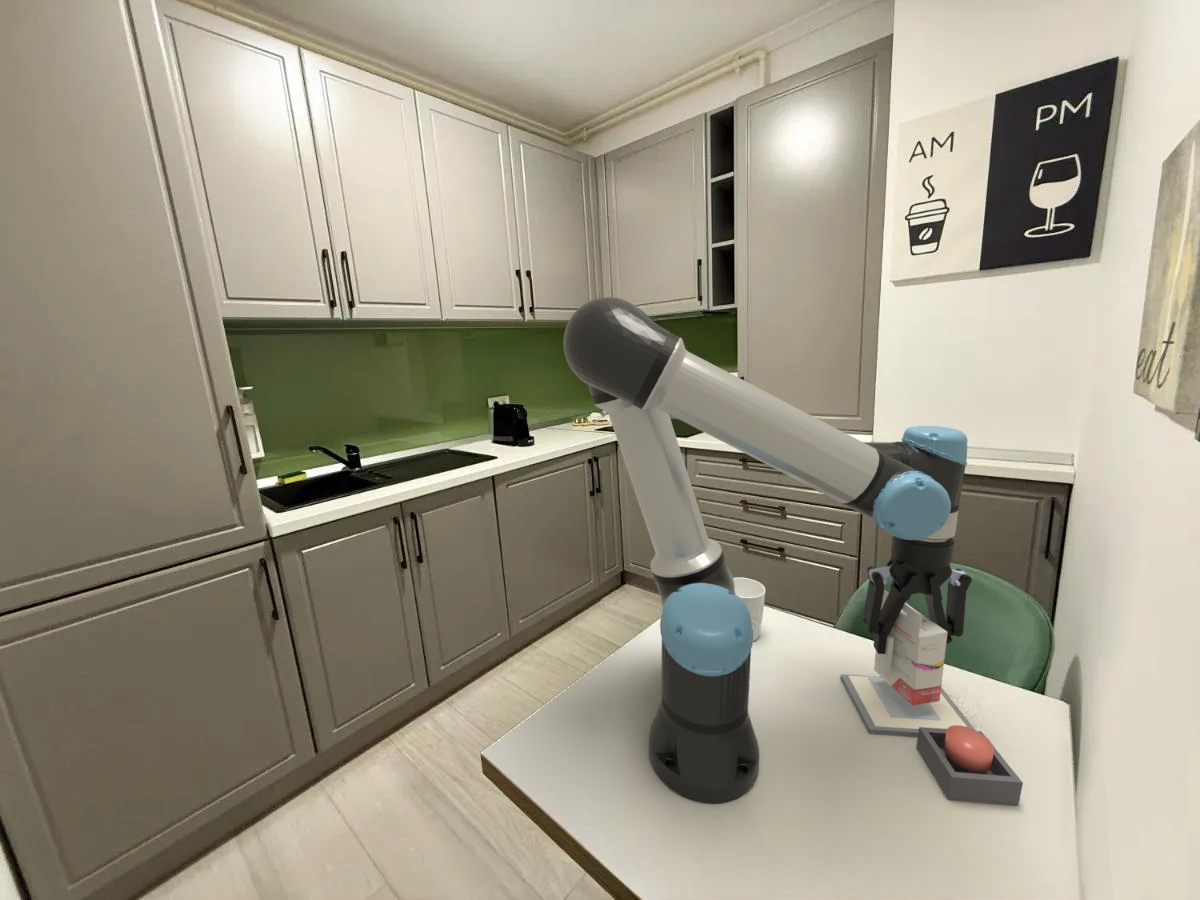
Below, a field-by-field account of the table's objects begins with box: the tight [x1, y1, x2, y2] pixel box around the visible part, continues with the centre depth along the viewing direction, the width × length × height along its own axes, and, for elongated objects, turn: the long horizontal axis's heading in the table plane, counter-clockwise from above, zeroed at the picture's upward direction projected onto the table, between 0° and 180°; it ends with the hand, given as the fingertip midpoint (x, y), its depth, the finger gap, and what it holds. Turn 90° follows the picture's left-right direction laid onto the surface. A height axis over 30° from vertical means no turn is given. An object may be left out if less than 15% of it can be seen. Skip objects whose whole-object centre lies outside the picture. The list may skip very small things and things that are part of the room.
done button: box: [944, 725, 995, 773], centre depth 64 cm, size 5×5×2 cm
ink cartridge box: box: [873, 589, 948, 705], centre depth 75 cm, size 9×5×15 cm, turn 8°
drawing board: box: [840, 673, 976, 738], centre depth 76 cm, size 15×12×1 cm
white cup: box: [733, 577, 766, 643], centre depth 95 cm, size 8×8×10 cm
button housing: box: [915, 727, 1024, 807], centre depth 64 cm, size 8×8×4 cm
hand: (905, 671), depth 76 cm, fingers closed on ink cartridge box, 6 cm apart
